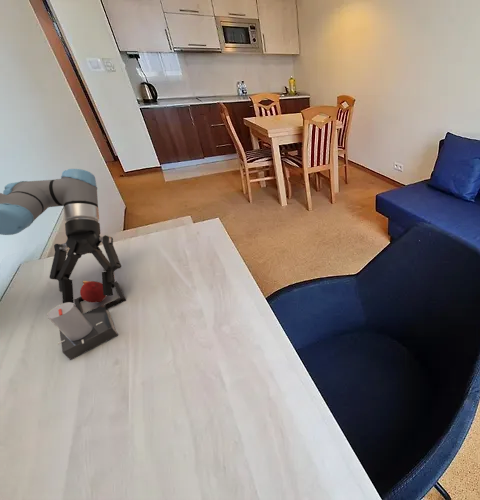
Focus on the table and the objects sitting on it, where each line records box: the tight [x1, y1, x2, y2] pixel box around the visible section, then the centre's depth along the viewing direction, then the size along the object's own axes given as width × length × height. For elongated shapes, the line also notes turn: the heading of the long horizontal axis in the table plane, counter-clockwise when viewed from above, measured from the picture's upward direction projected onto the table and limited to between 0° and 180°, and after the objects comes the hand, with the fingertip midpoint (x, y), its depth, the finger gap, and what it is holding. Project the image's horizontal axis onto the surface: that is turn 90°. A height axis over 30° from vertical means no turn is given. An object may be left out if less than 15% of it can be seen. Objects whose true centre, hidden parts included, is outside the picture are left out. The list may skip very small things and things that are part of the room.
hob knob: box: [46, 302, 93, 341], centre depth 72 cm, size 5×5×8 cm
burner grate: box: [73, 280, 127, 314], centre depth 88 cm, size 11×11×1 cm
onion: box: [79, 280, 107, 303], centre depth 86 cm, size 6×6×8 cm
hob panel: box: [56, 304, 119, 361], centre depth 77 cm, size 13×11×3 cm
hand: (88, 299), depth 83 cm, fingers open, 9 cm apart
